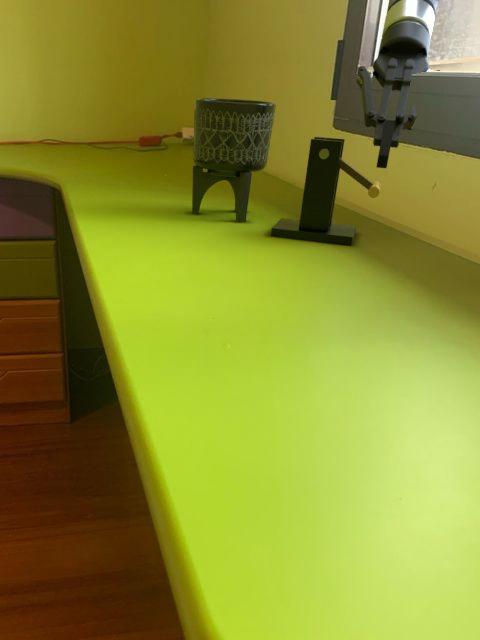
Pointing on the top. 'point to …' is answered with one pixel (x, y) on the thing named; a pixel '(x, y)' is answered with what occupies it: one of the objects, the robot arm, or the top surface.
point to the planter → (230, 146)
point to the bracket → (319, 198)
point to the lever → (361, 179)
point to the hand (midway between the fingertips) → (382, 161)
